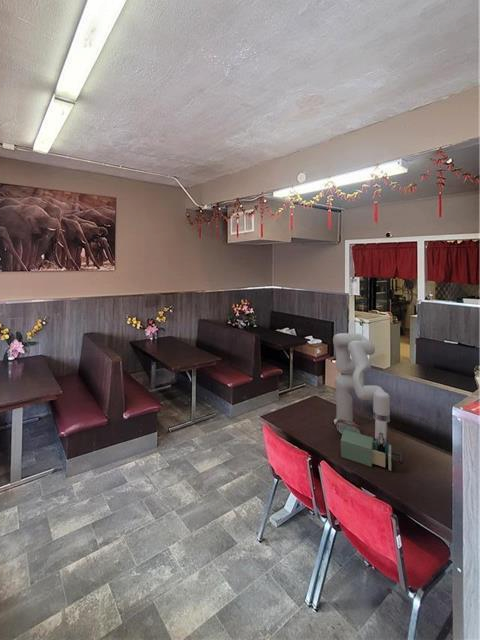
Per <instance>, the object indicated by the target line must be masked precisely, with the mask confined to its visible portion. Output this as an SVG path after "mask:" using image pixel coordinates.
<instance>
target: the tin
mask: <svg viewBox="0 0 480 640" xmlns="http://www.w3.org/2000/svg"><path fill="white" fill-rule="evenodd" d="M354 423H355V422H354ZM354 423H351V422H348V421H346V420H343V419H339V420H338V421H337V422H336V425H335V429H336V431H337V432H338V433H339V434H341V435H342V434H343V431H344V430H348V431H351V432H355V433H358V434H362V435H364V430H363V429H362V427H361V426H360V425H359V424H357V423H355V424H354Z"/></svg>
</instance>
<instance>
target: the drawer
mask: <svg viewBox="0 0 480 640" xmlns="http://www.w3.org/2000/svg"><path fill="white" fill-rule="evenodd" d="M392 455H395V456H398V457H399V458H398V459H396V458H393V457H392ZM387 456H388V458H387ZM387 459H388V460H387ZM392 461H393V462H397V463H400V465H403V464H404V456H403V454H402V453H396V452H393V451H392V445H391V444H388V449H387V455H385V453H382V452H379V451H376V440H373V445H372V465H376V466H380V467H381V468H386V465H387V464H388V468H387V469H388V471H390V472H392ZM386 462H387V464H386Z"/></svg>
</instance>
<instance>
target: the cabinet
mask: <svg viewBox="0 0 480 640" xmlns="http://www.w3.org/2000/svg"><path fill="white" fill-rule="evenodd" d="M373 441H374V437H372V436H368V435H365V434H363V435H362V434H358V433H355V432H351V431H348V430H344V431H343V434H341V438H340V457H341V458H343V459H345V460H350V461H352V462H355V463H359V464H361V465H364V466H368V467H370V468H372V467H373V463H372V445H373Z"/></svg>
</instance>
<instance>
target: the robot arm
mask: <svg viewBox="0 0 480 640" xmlns="http://www.w3.org/2000/svg"><path fill="white" fill-rule="evenodd" d="M332 343H333V347H334V350H335V363H336V365H335V366H336V370H337V372H338V373H340V374H341V375H337V376H335V378H334V386H335V398H336V401H335V403H336V404H335V405H336V407H335V408H336V409H335V411H336V415H335V418H334V419H333V424H334V425H335V426H336V422H337V421H338V420H339V419H343V420H346V421H348V422H351V423H354V424H356V423H355V422H354V421H353V418H354V412H353V408H354V407H353V406H354V401H353V396H352V394H350V392H354V393H355V395H356V397H357V398H358V399H359V400H361V401H372V413H373V414H372V418H373V419H374V439H375V440H376V439H378V451H379V452H382V453H385V446H384V441H386V440H387V434H388V423H389V422H391V395H390V394H389V393H388V392H386V391H385V390H384V389H383V388H382V387H381V386H379V385H377V384H376V385H374V384H372V385H367V384H365V372H366V371H368V370H370V369H371V367H372V363H371V362H370V359H369V356H372V355H374V354H375V353H376V347H375V344H374V343H373V342H372V341H371V340H370V339H369V338H368V337H366V336H365V335H363V334H361V333H359V332H354V333H353V332H352V333H350V332H339V333H336V334H334V335H333V338H332ZM351 374H352V375H351ZM379 438H380V439H379ZM379 441H380V442H379Z"/></svg>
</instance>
